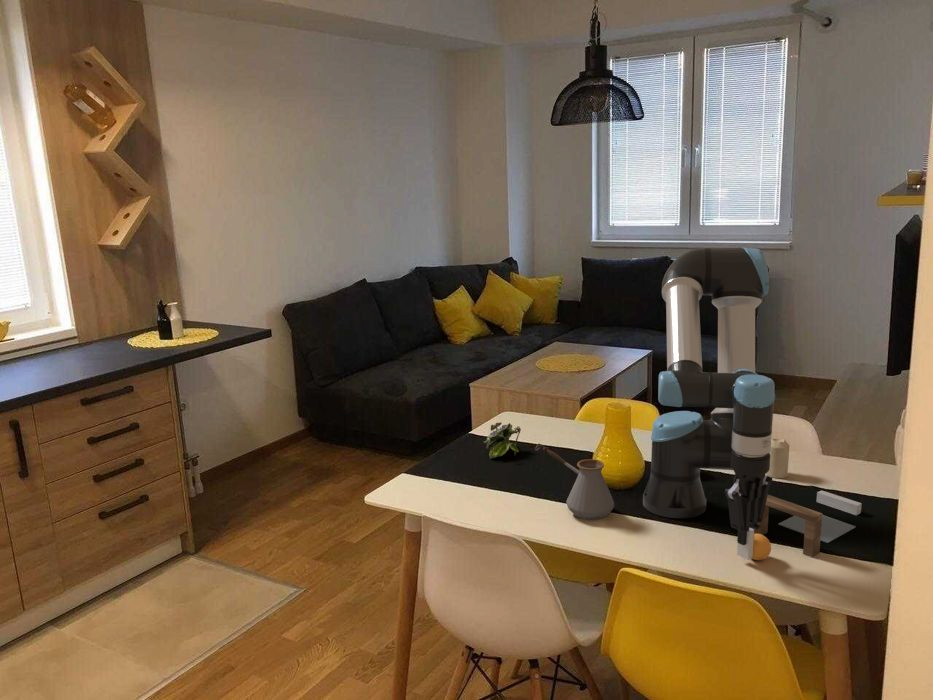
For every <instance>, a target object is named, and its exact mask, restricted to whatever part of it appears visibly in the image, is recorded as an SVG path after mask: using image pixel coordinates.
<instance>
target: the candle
mask: <svg viewBox="0 0 933 700" xmlns="http://www.w3.org/2000/svg"><path fill="white" fill-rule="evenodd" d="M769 454H770V469H769V471H768V472H767V473H766V474H765V475H766V476H769V477H773V478H772V479H785V478H787V477H788V473H789V461H790V460H789V459H790V444H789V443H788V442H787V441H786V440H785V439H784V438H780V439H778V438H771V451H770V452H769Z"/></svg>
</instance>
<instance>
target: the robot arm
mask: <svg viewBox="0 0 933 700" xmlns="http://www.w3.org/2000/svg"><path fill="white" fill-rule="evenodd" d="M769 276H770V275H769V268H768V262H767V259H766V256H765V254H764V252H763V251H762V250H761V249H759V248H754V247H751V248H749V247H744V246H742V247H724V248H723V247H718V248H713V247H712V248H709V247H708V248H705V247H701V248H700V247H697V248H694V249H693V248H692V249H690V250H687V251H686V252H683V253H682V254H680V255H679V256H678V257H677V258H676V259H675V260H674V261H672V263H671V264H670V265H669V267H668V268H667V270H666V272H665V274H664V276H663V278H662V282H661V297H662V299H663V300H664V302H665V309H666V312H665V313H666V317H665V318H666V368H667V369H666V370H665V371H660V372H659V374H658V389H657V390H658V392H657V393H658V394H657V395H658V397H657V398H658V403H660V405H662V406H667V407H676V408H681V407H683V408H684V407H687V408H711V409H713V408H714V409H713V410H712V411H711V412H710V419H704V418H703V416H702V414H701V413H699V412H697V411H690V410H679V411H678V410H675V411H671V412H667V413H666V412H665V413H663V414H661V415H659V416H658V417H656V418H655V419H654V421H653V423H652V430H651V435H650V440H651V457H650V460H651V461H650V475H649V478H648V480H647V483H646V485H645V490H644V492H643V494H642V505H643V508H645V510H647V511H648V512H650V513H652V514H654V515H657V516H660V517H664V518H670V519H692V518H695V517H698V516H700V515H702V514H704V513H705V512H706V509H707V498H706V494H705V491H704V488H703V485H702V481H701V477H700V476H701V469H706V470H707V469H708V470H723V471H733V472H734V477H733V480H732V483H733V485H732V486H731V487H730V488H725V490H724V494H725V496H726V497H725V498H726V499H727V506H728V507H727V508H728V515H729V522H730V527H731V528H732V529H735V530H737V536H736V537H737V539H736V540H737V541H736V542H737V551H736V555H737V556H738V557H740V558H743V559H745V560H750V559H752V557H753V540H754V531H755V529H759V528H760V526H759V525H757V523H758V522H759V523H761V522H762V519H763V514H764V510H765V505H766V500H767V495H769V490H770V486H771V484H772V483H773V482H772V481H773V478H772V477H769V476H767V475H766V473H767V472H768V471H769V469H770V454H769V452H770V451H771V440H772V434H773V420H774V419H773V418H774V407H775V400H776V394H775V382H774V380H773V379H772V378H770V377H768V376H765V375H761V374H758V373H757V372H756V309H757V308H758V307H759V306H760V305H761V304H762V302H763V301H762V299H763V297H764V296H767V295H768V293H769V290H770V289H769V288H770V285H769V282H770V277H769ZM702 296H711V304H712V305H713V306H714V307H716V309H717V372H705V371H703V357H702V335H701V323H700V322H701V317H700V316H701V315H700V300H701V299H702Z"/></svg>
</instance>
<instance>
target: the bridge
mask: <svg viewBox="0 0 933 700" xmlns="http://www.w3.org/2000/svg"><path fill="white" fill-rule="evenodd" d="M769 508H772V509H775V510H777V511H780V512H784V513H786V514H789V515H791V516H797V517H800V518H802V519H805V534H803V548H802V550H803V551H802V555H804V556H807V557H810V558H813V557H814V556H817V555H818V554H820V549H821V540H820V539H821V527H822V515H824V514H823V513H822V512H819V511H817V510H813V509H810V508H807V507H804V506H802V505H799V504H796V503H794V502H791V501H787V500H785V499H781V498H779V497H776V496H774V495H770V494H768V495H767V500H766V505H765V510H764V514H763V519H762V522H761V523H759V522H758V523H757V525H759V526H760V528H759V529H755V531H754V534H761V535H764V536H765V534H767V533H768V530H769V529H768V528H769V527H768V526H769V513H770V511H769V510H770V509H769Z"/></svg>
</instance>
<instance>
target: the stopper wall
mask: <svg viewBox="0 0 933 700" xmlns="http://www.w3.org/2000/svg"><path fill="white" fill-rule="evenodd" d="M816 503H818V504H822V505H825V506H827V507H831V508H833V509H837V510H840V511H842V512H845V513H848V514H851V515H854V516H858V515H860V514H861V512H862V503H861V502H858V501H855V500H852V499H850V498H846V497H844V496H840V495H837V494H835V493H831V492H828V491H824V490H820V491H816Z"/></svg>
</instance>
